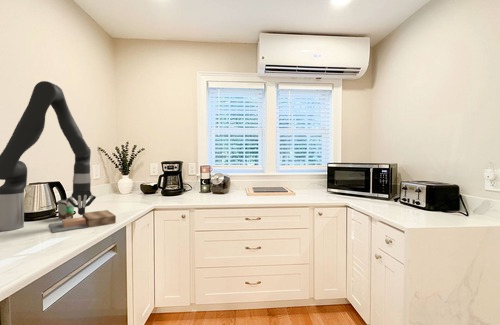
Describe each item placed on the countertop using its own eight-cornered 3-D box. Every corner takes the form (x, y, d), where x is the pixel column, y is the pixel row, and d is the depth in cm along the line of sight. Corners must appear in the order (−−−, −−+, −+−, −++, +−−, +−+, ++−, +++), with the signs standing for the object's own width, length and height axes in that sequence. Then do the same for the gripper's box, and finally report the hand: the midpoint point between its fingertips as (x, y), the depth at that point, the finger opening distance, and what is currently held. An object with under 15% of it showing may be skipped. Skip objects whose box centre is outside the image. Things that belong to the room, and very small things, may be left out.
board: (89, 227, 116) (89, 219, 115) (82, 220, 128) (82, 213, 128) (115, 222, 124) (115, 215, 124) (106, 216, 137) (106, 210, 137)
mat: (52, 233, 106) (52, 232, 106) (49, 224, 118) (49, 223, 118) (87, 227, 115) (87, 226, 115) (81, 220, 128) (81, 219, 128)
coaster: (64, 227, 113) (64, 222, 113) (62, 224, 118) (62, 219, 117) (86, 224, 119) (86, 219, 119) (83, 221, 124) (83, 216, 124)
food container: (79, 218, 131) (79, 201, 131) (66, 221, 126) (67, 202, 126) (69, 215, 137) (70, 199, 137) (57, 217, 132) (57, 200, 132)
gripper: (66, 183, 113) (66, 218, 113) (98, 181, 122) (97, 214, 123) (64, 182, 118) (64, 215, 118) (95, 180, 128) (94, 211, 128)
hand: (81, 214), depth 120 cm, fingers closed
